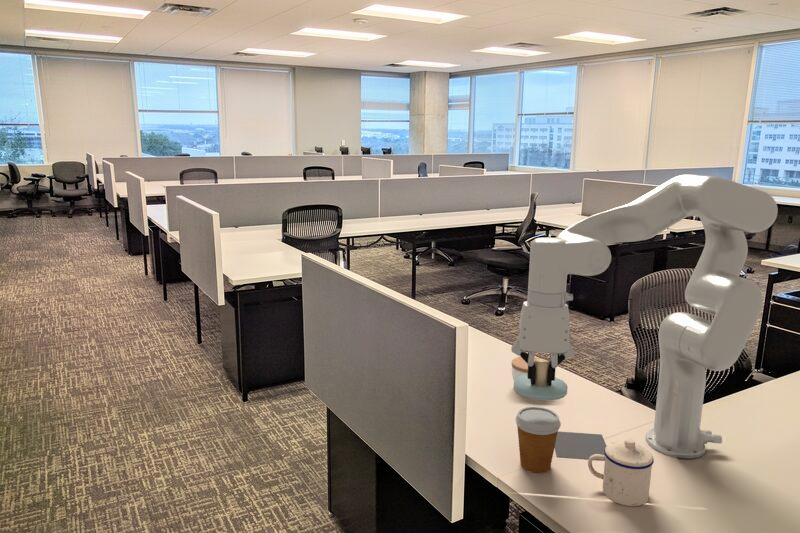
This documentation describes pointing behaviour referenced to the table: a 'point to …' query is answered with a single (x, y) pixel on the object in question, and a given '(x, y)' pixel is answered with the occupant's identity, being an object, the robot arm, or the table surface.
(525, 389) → the cover
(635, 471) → the teacup with lid
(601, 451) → the mat
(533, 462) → the disposable coffee cup
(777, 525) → the table surface
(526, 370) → the lidded jar
